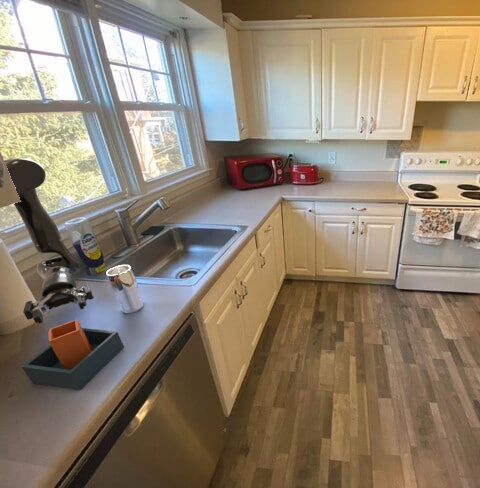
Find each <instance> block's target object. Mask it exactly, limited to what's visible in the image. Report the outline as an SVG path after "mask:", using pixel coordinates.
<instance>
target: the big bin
mask: <svg viewBox="0 0 480 488" xmlns="http://www.w3.org/2000/svg"><path fill="white" fill-rule="evenodd" d="M81 328H82V330H83V332H84V333H85V335H86V337H87V339H88V341H89V343H90V345H91V347H92V349H93V351H92V352H91V353H90V354H89V355H87V356H86V357H85V358H84V359H83V360H82V361H81V362H79V363H78V364H77V365H76V366H75V367H74V368H73V369H71V370H66V369H64V367H63V365H62V364H61V362H60V360H59V358H58V357H57V355H56V353H55V352H54V350H53V348H52V347H51V345H50V344H49V346H47V347H46V348H44V349H43V350H42V351H40V352H39V353H37V354H36V355H35V356H34V357H32V358H31V359H29V360H28V361H27V362H25V363H24V364H23V365H21V369H22V370H23V372H24V373H25V375H26V376H27V378H28V379H29V380H30V382H31V383H32V384H36V385H43V386H49V387H56V388H57V387H58V388H64V389H69V390H78V391H81V390H82V389H83V388H84V387H85V386H86V385H87V384H88V383H89V382H90V381H92V379H93V378H94V377H96V375H97V374H99V373H100V371H101V370H103V369H104V367H106V365H108V364H109V363H110V362H111V361H112V360H113V358H115V357H116V356H117V355H118V354H119V353H120V352H121V351H122V350H123V349H124V348H125V345H124V344H123V341H122V339H121V336H120V335H119V332H118V331H115V330H105V329H95V328H86V327H81Z"/></svg>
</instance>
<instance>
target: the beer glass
mask: <svg viewBox="0 0 480 488" xmlns="http://www.w3.org/2000/svg"><path fill="white" fill-rule="evenodd" d="M105 275H106V277H107V281H108V284H109V286H110V289H111V290H112V292H113V293H114V295H115V296H116V298H117V300H118V301H119V302H120V305H121V311H122V313H123V314H133V313H136V312H138V311H140V310H141V309H142V308H143V307H144V303H143V301H142V299H141V298H140V296H139V289H138V288H139V287H138V283H137V278H136V275H135V273H134V271H133V269H132V267H131V266H130V265H129V264H121V265H116V266H114V267H111V268H109V269H108V270H107V271H106V272H105Z"/></svg>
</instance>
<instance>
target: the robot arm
mask: <svg viewBox="0 0 480 488" xmlns="http://www.w3.org/2000/svg"><path fill="white" fill-rule="evenodd" d="M3 161H4V162H5V164H6V166H7V168H8V171H9V173H10V176H11V179H12V181H13V183H14V185H15V187H16V191H17V193H18V195H19V197H20V200H21V202H18V203H15V204H13V206H14V207H15V209H16V210H17V212H18V214H19V216H20V218H21V220H22V222H23V224H24V226H25V228H26V231H27V232H28V235H29V237H30V240H31V243H32V244H33V246H34V249H35V251H36V252H37V253H39V254H58V255H59V256H56V257H52V258H47V259H44V260H41V261H39V262H38V264H36V271H37V274H38V275H39V276H40V277H41V279H42V280H43V282H42V285H41V286H42V287H41V290H42V291H41V298H40V299H39V300H37V301H35V302H33V301H32V300H28V301H26V302H25V304H24V308H23V310H22V312H23V314H24V316H25V318H26V319H27V320H33V321H34V322H35V323H38V324H42V323H44V315H45V314H47V313H48V314H49V313H51V312H52V311H53V310H55V308H58V307H60V306H64V305H68V304H78V306H79V308H80V310H83V309H85V307H86V306H87V300H93V299H94V298H95V297H94V295H93V292H92V290H91V287H90V286H89V284H88V283H85V284H83V285H82V287H81V288H77V282H76V279H75V276H74V275H75V274H77V273H78V272H79V271H80V263H79V261H78V260H77V258H76V257H75V256H74V255H73V254H72V253H71V252H70V250H69V249H68V247H67V246H66V244H65V243H64V240H63V239H62V238H63V237H62V236H61V233H60V231H59V228H58V226H57V224H56V223H55V221H54V220H53V218H52V217H51V216H50V215H49V213H48V212H47V210H46V209H45V207H44V205H43V204H42V202H41V201H40V198H39V196H38V194H37V190H36V189H37V188H40V186H42V185H43V184H44V182H45V180H46V177H47V176H46V174H47V173H46V170H45V168H44V167H43V166H42V165H41V164H40V163H39V162H37V161H34V160H31V159H28V158H21V157H20V158H19V157H18V158H10V159H3Z"/></svg>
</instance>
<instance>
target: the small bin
mask: <svg viewBox="0 0 480 488" xmlns="http://www.w3.org/2000/svg"><path fill="white" fill-rule="evenodd" d="M82 328H83V327H82V326H81V323H80V322H79V320H78V318H76V319H73V320H71V321H68V322H64V323H62V324H60V325H56V326H53V327H51V328H49V329H48V343H49V346H50V345H51V347H52V348H53V350H54V352H55V353H56V355H57V357H58V358H59V360H60V362H61V364H62V365H63V367H64V369H66V370H71V369H73V368H74V367H75V366H76V365H77V364H78V363H79V362H81V361H82V360H83V359H84V358H85V357H86V356H87V355H89V354H90V353H91V352H92V351H93V349H92V347H91V345H90V343H89V341H88V339H87V337H86V335H85V333H84V332H83V330H82Z"/></svg>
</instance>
